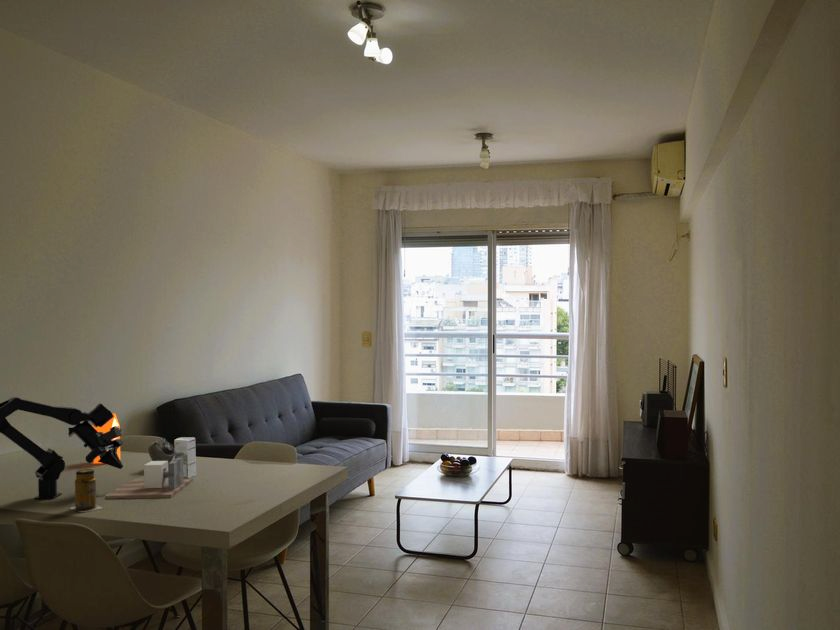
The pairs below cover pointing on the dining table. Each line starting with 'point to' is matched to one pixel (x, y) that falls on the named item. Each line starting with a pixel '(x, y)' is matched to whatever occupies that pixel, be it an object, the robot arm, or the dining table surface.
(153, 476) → the white box with window
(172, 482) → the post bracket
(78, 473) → the condiment
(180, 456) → the syrup box
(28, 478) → the dining table surface
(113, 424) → the orange juice
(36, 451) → the robot arm
